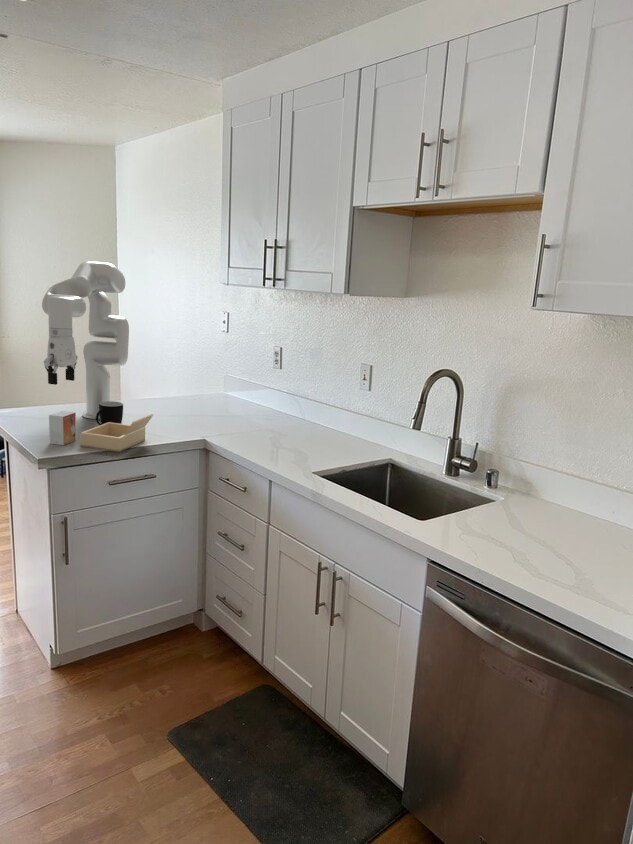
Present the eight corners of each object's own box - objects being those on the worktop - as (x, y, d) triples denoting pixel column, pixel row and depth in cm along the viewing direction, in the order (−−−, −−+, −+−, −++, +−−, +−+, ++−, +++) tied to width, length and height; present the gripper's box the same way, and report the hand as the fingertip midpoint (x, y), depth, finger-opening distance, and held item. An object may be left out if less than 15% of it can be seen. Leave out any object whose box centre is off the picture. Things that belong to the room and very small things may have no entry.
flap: (152, 413, 227) (153, 414, 227) (143, 426, 229) (144, 427, 229) (133, 421, 214) (134, 422, 214) (123, 434, 216) (124, 435, 216)
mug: (111, 424, 250) (111, 400, 248) (128, 428, 247) (128, 403, 244) (88, 430, 240) (87, 404, 238) (105, 434, 236) (104, 408, 234)
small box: (63, 445, 218) (62, 416, 216) (49, 443, 219) (48, 414, 217) (76, 440, 226) (76, 412, 223) (62, 438, 227) (62, 410, 224)
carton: (108, 434, 236) (108, 422, 235) (145, 440, 233) (145, 427, 231) (80, 446, 219) (80, 432, 217) (119, 452, 215) (119, 438, 214)
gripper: (54, 335, 204) (55, 387, 208) (85, 332, 221) (85, 379, 225) (34, 333, 206) (35, 384, 210) (66, 330, 222) (67, 377, 226)
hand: (61, 382), depth 217 cm, fingers open, 9 cm apart
